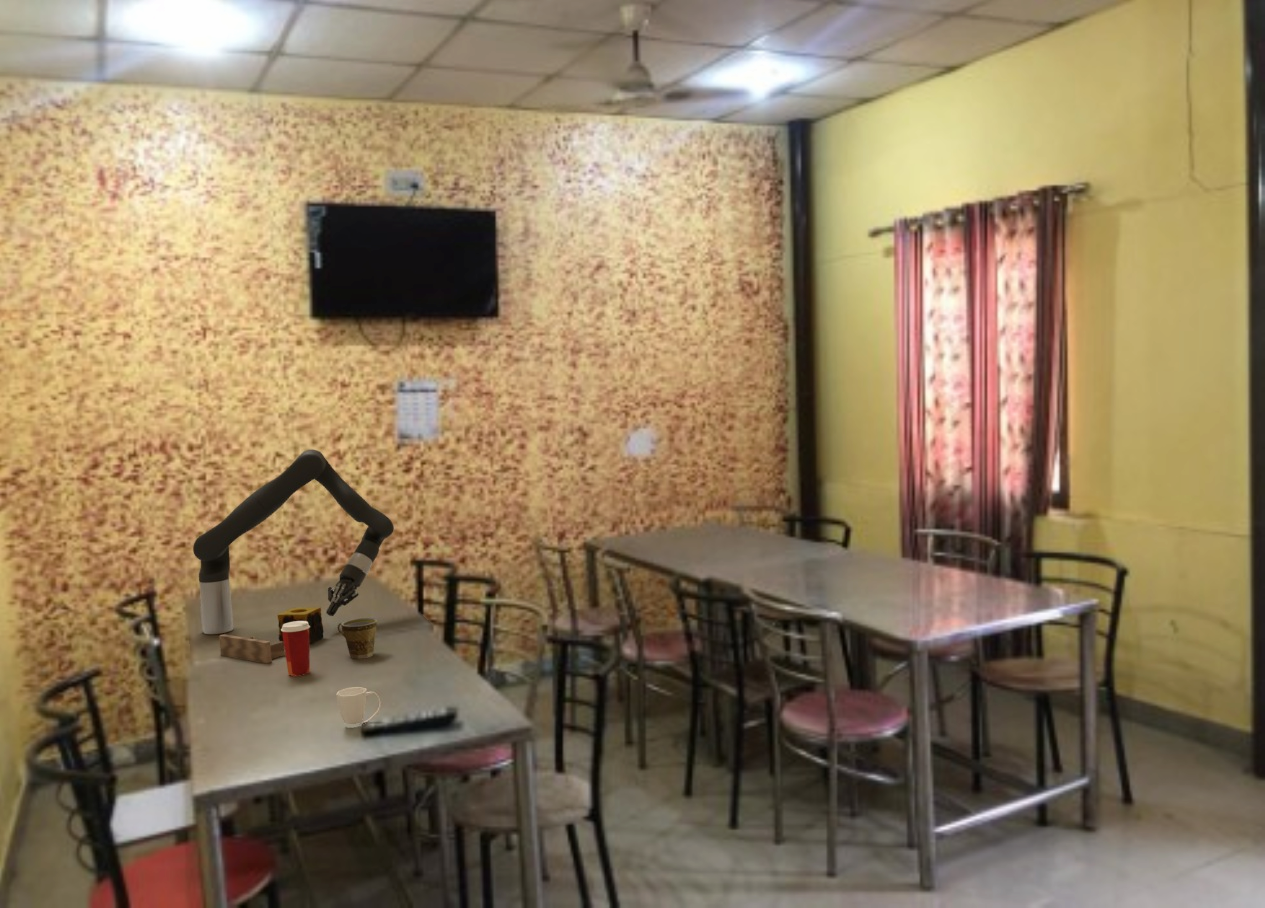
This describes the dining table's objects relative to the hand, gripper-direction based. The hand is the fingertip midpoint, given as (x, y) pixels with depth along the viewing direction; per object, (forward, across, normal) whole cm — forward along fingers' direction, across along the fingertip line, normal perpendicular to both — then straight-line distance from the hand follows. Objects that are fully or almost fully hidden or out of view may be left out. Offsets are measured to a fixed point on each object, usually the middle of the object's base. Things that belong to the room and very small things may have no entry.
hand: (329, 614), depth 332 cm
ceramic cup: (+15, +30, -6) cm, 34 cm away
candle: (+13, 0, -4) cm, 13 cm away
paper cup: (+30, +29, -21) cm, 46 cm away
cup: (+45, +79, -36) cm, 98 cm away
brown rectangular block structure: (+24, 0, -15) cm, 28 cm away
